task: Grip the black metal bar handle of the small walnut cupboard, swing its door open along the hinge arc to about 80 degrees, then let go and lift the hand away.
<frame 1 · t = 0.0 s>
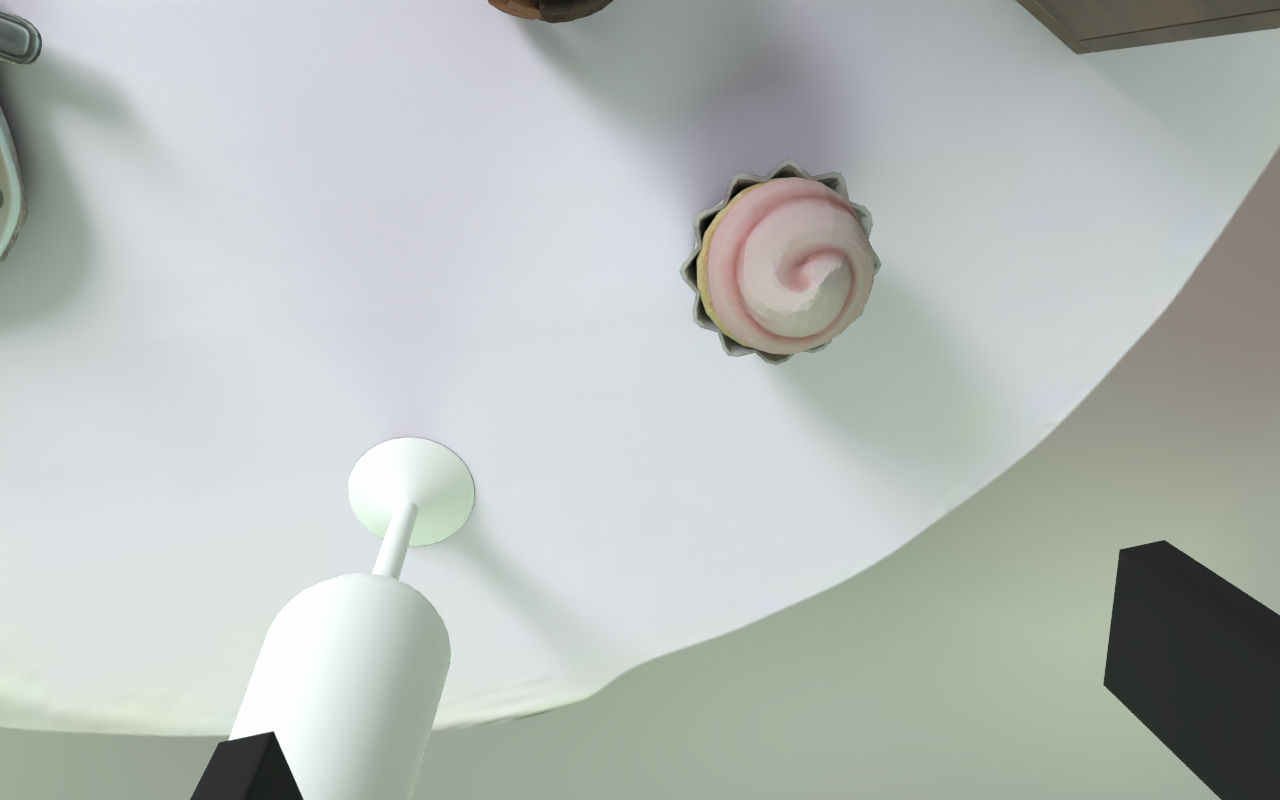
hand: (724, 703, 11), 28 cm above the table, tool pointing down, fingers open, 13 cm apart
champagne flute: (412, 491, 40), on the table
cupcake: (750, 249, 38), on the table
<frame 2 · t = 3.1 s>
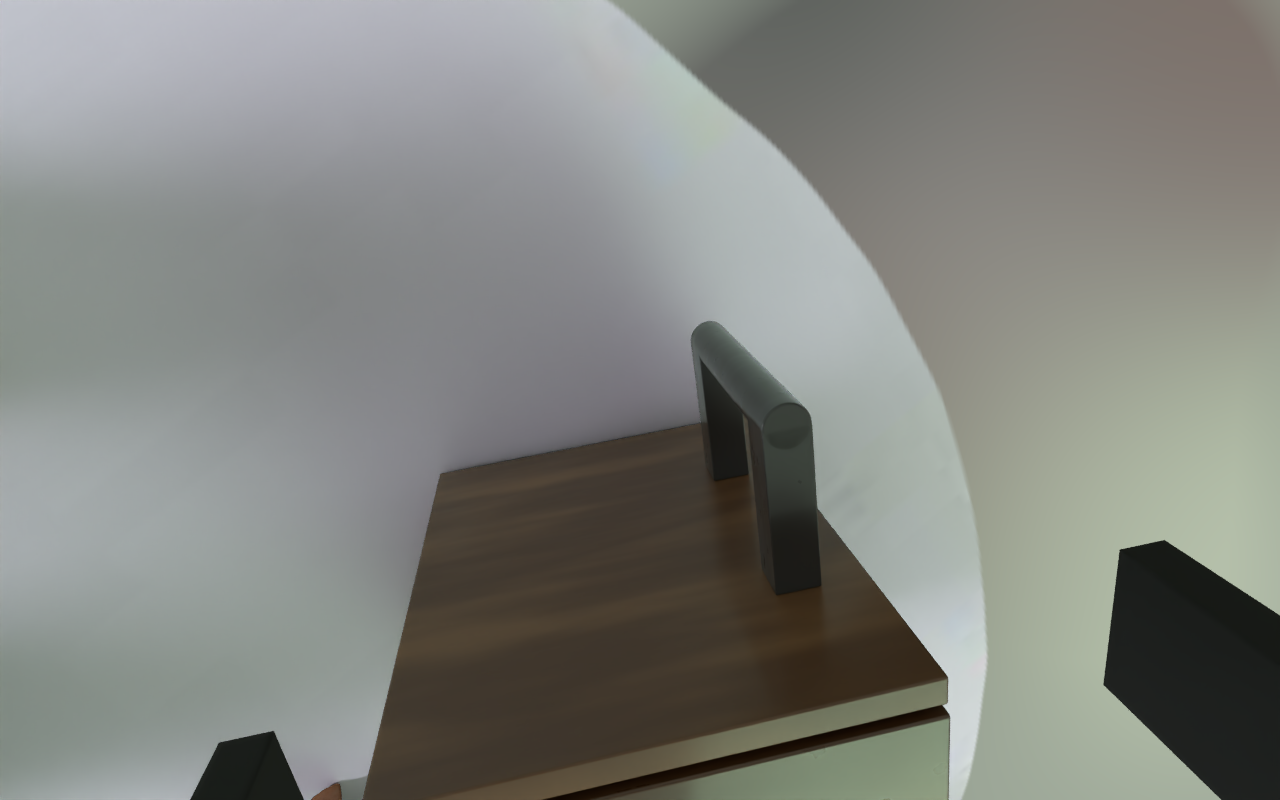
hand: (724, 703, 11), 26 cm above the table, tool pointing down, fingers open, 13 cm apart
cupboard door: (606, 479, 27), point 10 cm above the table, hinge at 0.0°
cupboard: (617, 566, 40), on the table
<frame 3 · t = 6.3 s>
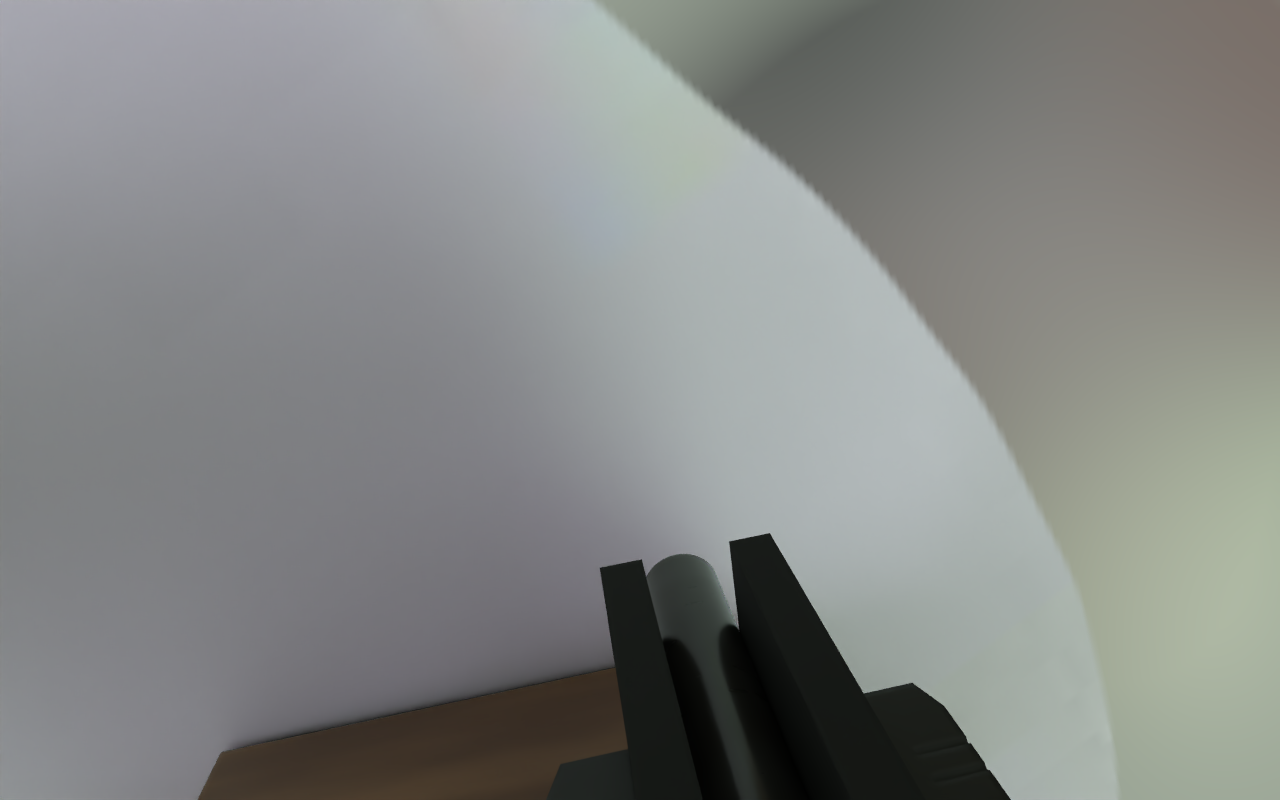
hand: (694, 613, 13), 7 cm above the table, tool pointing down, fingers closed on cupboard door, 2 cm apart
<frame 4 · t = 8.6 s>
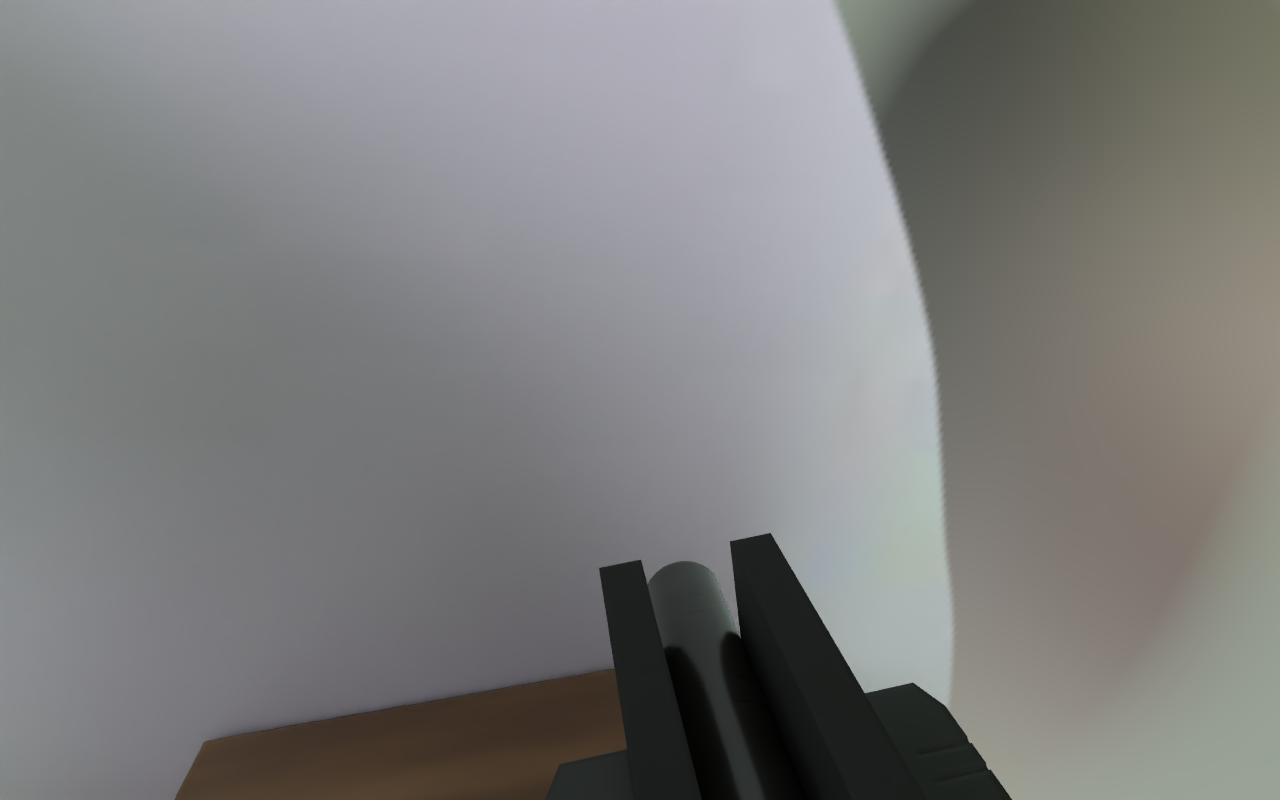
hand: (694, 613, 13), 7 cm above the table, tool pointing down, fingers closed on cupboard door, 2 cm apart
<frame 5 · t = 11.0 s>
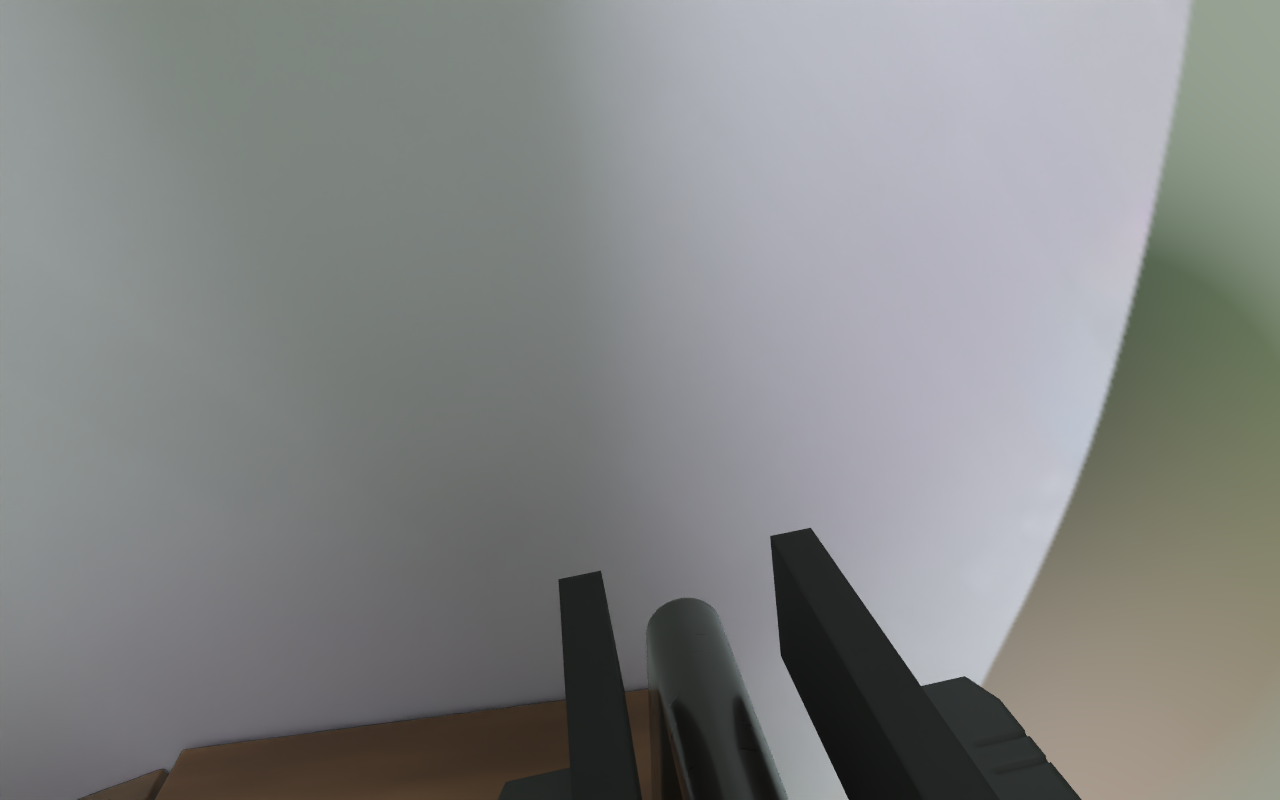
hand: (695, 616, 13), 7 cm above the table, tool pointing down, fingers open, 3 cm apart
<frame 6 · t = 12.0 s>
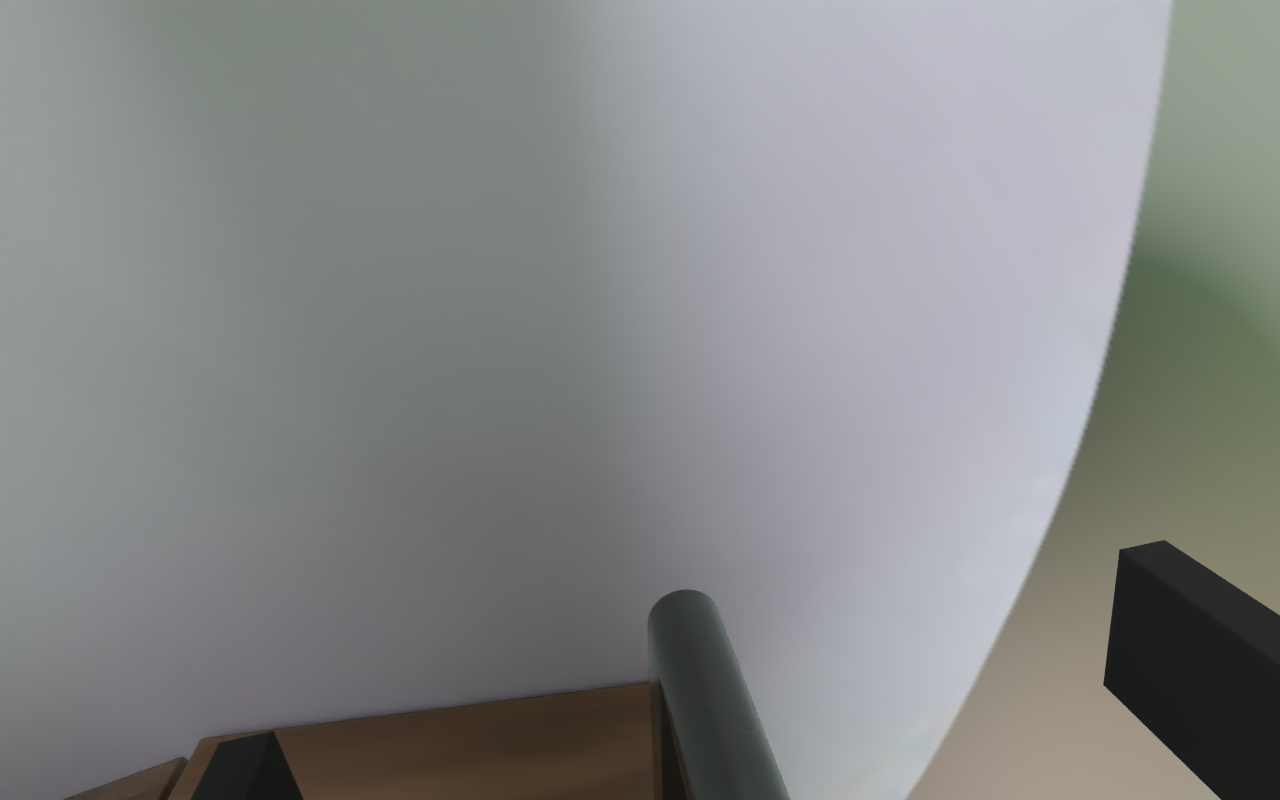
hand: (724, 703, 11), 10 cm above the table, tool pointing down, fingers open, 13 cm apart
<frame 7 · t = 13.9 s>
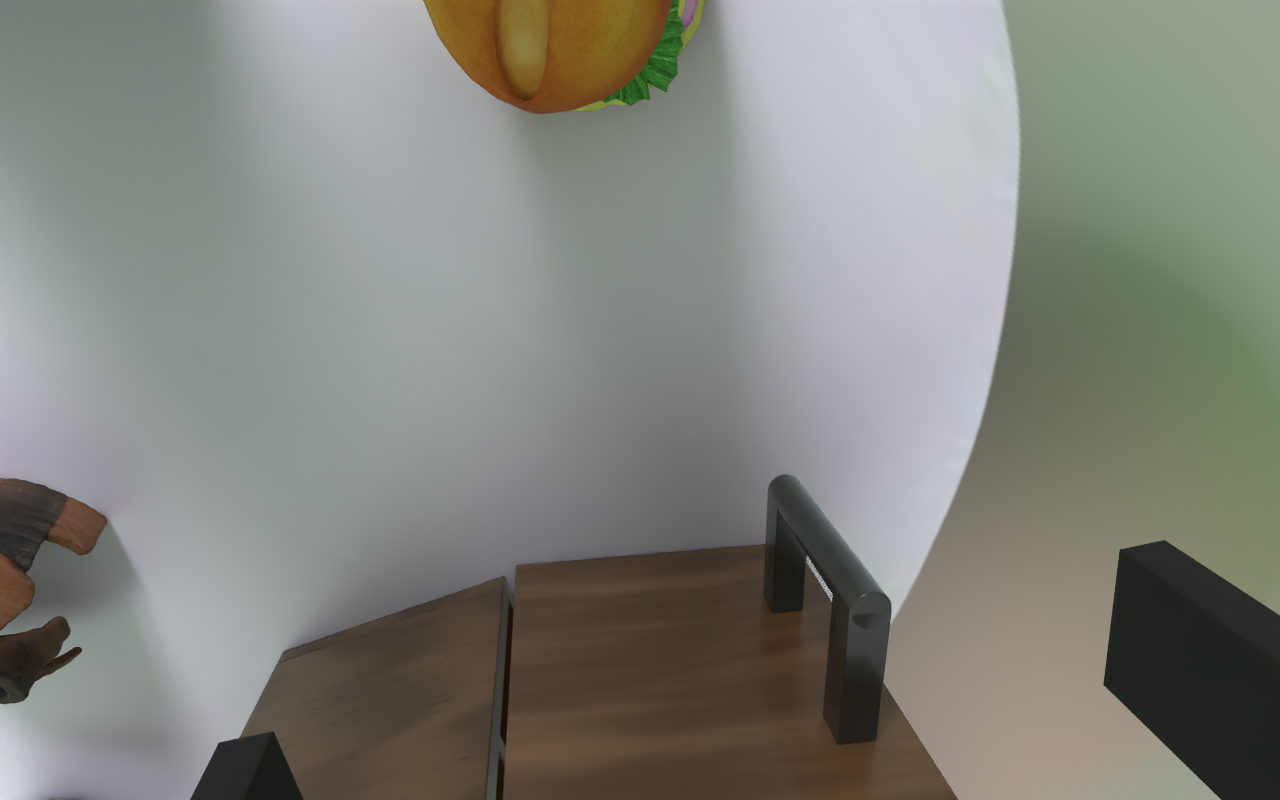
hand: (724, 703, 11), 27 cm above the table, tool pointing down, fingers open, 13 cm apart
cupboard door: (692, 614, 31), point 10 cm above the table, hinge at 73.7°
pottery mug: (9, 545, 37), on the table
cupboard: (448, 718, 43), on the table
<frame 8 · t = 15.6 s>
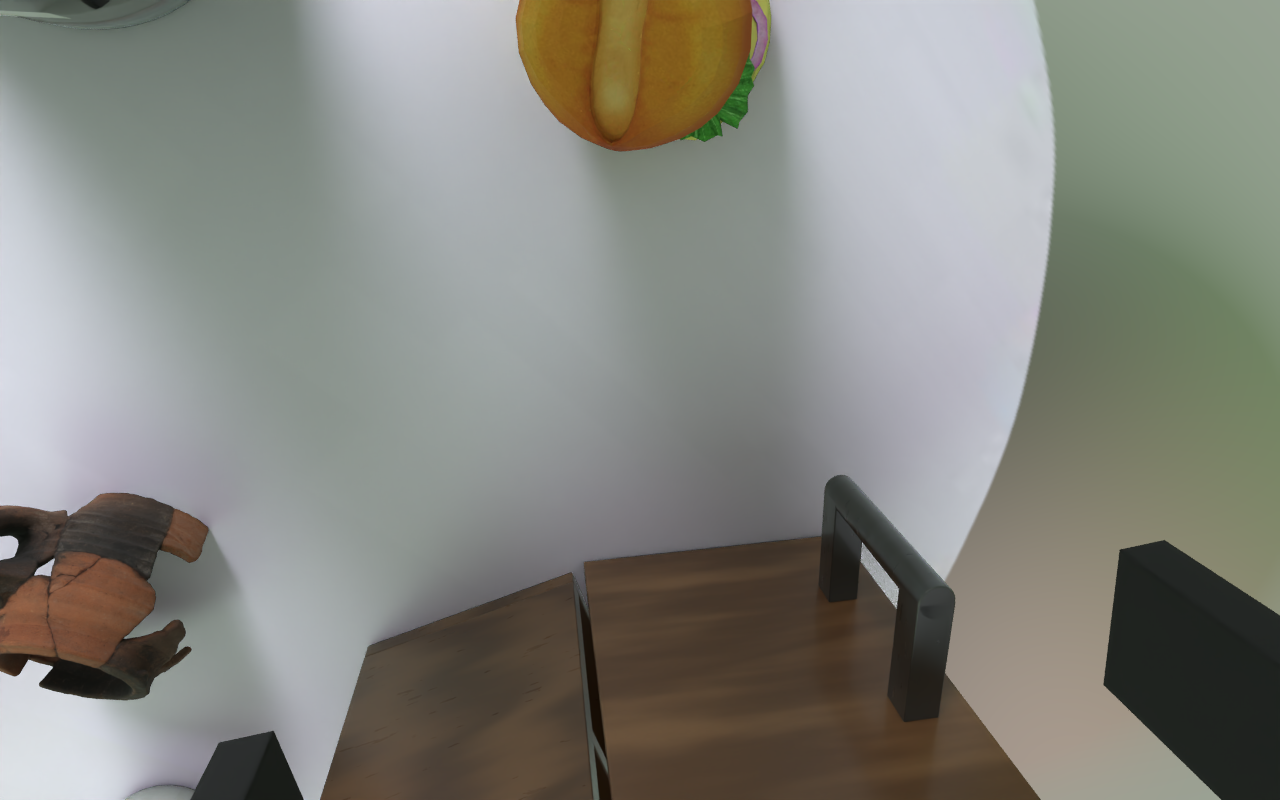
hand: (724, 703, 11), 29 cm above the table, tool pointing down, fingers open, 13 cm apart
cupboard door: (764, 607, 34), point 10 cm above the table, hinge at 73.7°
pottery mug: (118, 554, 39), on the table
cupboard: (519, 703, 46), on the table
cheeseburger: (643, 37, 34), on the table
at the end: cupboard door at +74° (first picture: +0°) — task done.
